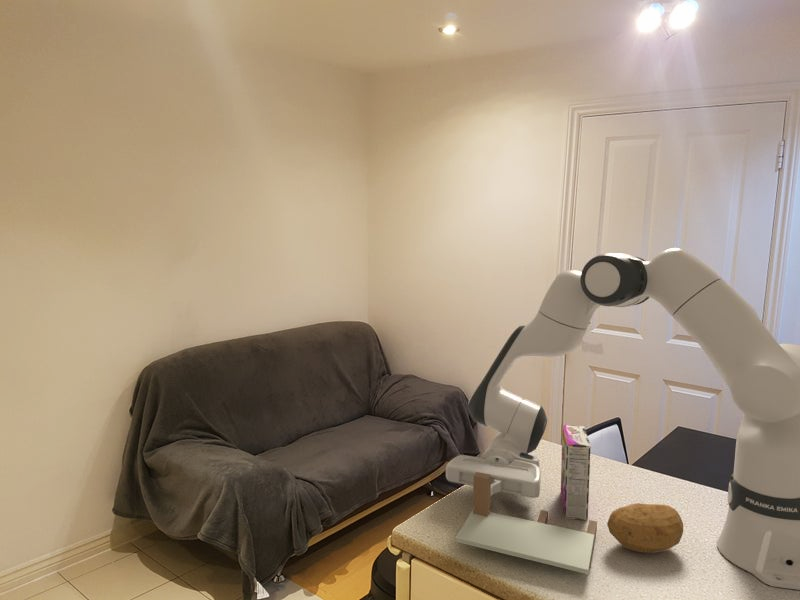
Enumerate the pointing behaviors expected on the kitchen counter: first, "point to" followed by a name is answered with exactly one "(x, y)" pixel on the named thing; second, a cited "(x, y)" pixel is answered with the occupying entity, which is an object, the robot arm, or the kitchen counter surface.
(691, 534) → the kitchen counter surface
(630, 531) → the potato
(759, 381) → the robot arm
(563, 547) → the lid
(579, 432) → the candy bar box
